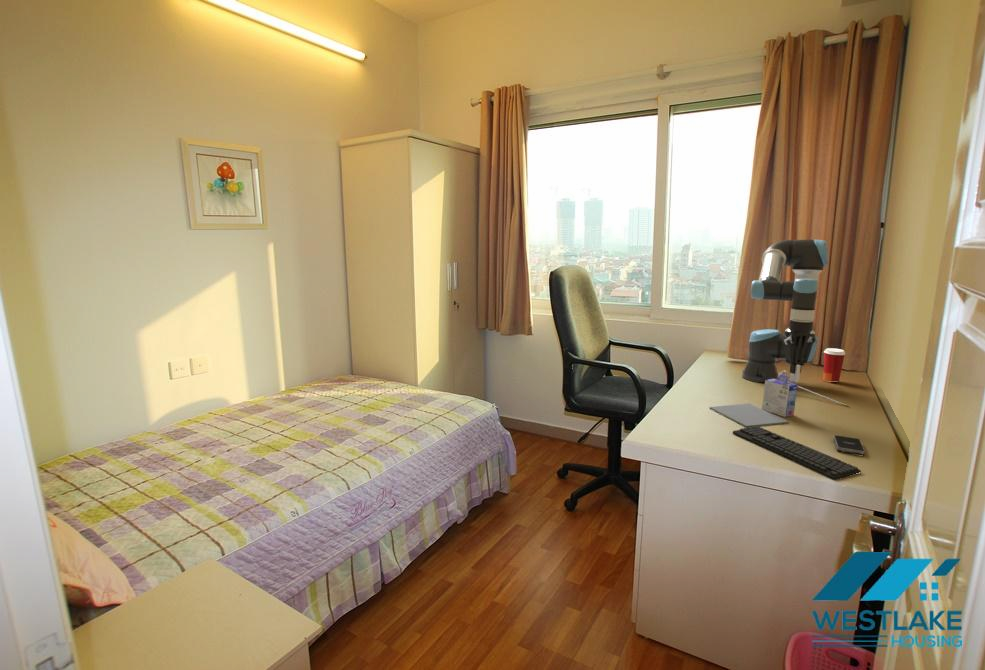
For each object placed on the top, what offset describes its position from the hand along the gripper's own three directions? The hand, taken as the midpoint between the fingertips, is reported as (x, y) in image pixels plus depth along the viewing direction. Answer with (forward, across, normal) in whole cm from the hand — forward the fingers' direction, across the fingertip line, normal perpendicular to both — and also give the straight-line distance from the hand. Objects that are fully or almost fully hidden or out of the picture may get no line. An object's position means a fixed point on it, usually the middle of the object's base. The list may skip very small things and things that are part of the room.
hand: (794, 381), depth 187 cm
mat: (+12, +19, 0) cm, 23 cm away
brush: (+12, -21, -11) cm, 26 cm away
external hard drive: (+13, +9, +32) cm, 35 cm away
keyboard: (+13, +29, +30) cm, 43 cm away
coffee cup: (+12, -50, -28) cm, 58 cm away
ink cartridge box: (+12, +6, 0) cm, 14 cm away
